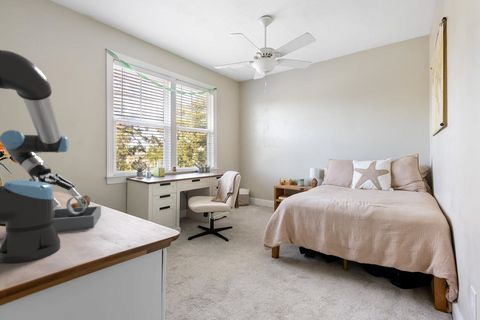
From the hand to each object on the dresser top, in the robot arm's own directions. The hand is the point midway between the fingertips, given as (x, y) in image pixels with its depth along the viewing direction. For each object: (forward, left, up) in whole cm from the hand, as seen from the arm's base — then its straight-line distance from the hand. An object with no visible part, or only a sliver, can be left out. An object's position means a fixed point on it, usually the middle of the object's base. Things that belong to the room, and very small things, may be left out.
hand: (68, 202), depth 109 cm
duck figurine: (+21, +14, -10) cm, 27 cm away
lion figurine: (+16, -1, -10) cm, 19 cm away
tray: (-1, -2, -10) cm, 10 cm away
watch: (0, -3, -9) cm, 9 cm away
